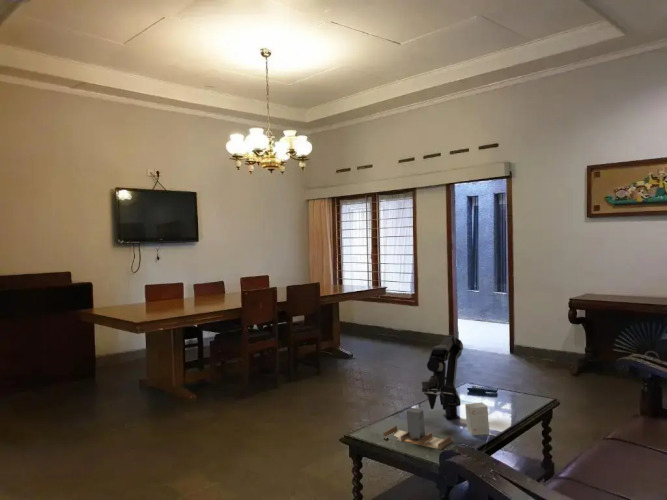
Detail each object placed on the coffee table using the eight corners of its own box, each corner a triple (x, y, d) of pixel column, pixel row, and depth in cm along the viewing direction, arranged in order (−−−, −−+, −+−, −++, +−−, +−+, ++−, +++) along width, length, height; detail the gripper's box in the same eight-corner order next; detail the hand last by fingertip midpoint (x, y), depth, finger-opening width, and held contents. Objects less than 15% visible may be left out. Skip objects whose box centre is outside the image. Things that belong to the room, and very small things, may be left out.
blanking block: (408, 439, 224) (406, 410, 224) (413, 435, 227) (411, 408, 227) (420, 441, 221) (418, 412, 220) (425, 438, 224) (423, 410, 223)
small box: (484, 430, 230) (482, 401, 230) (489, 435, 224) (487, 406, 224) (466, 432, 230) (464, 403, 230) (472, 437, 223) (470, 408, 223)
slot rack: (383, 438, 229) (382, 432, 229) (395, 431, 237) (394, 425, 237) (440, 451, 211) (440, 444, 211) (451, 443, 219) (451, 436, 219)
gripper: (413, 372, 242) (411, 407, 237) (437, 371, 225) (435, 408, 221) (432, 375, 246) (431, 409, 241) (457, 374, 230) (456, 410, 225)
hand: (437, 409), depth 232 cm, fingers open, 9 cm apart
